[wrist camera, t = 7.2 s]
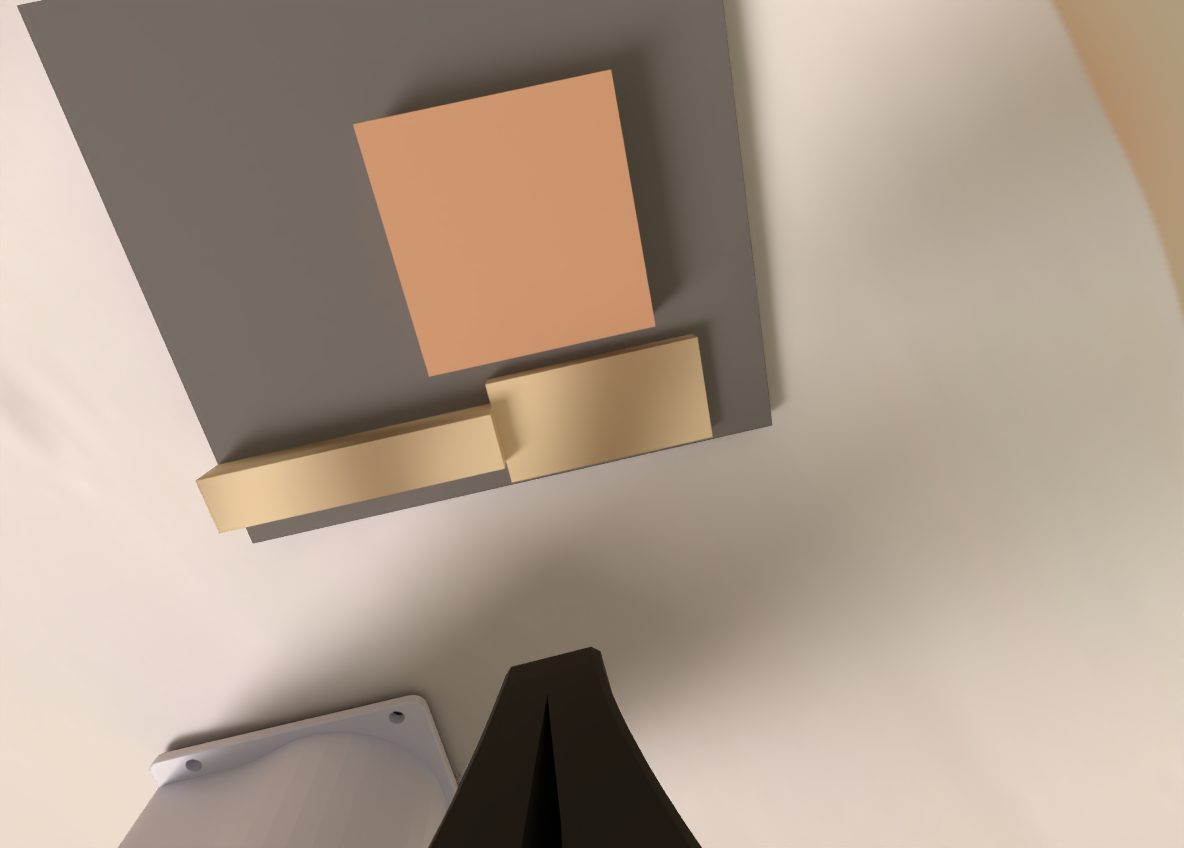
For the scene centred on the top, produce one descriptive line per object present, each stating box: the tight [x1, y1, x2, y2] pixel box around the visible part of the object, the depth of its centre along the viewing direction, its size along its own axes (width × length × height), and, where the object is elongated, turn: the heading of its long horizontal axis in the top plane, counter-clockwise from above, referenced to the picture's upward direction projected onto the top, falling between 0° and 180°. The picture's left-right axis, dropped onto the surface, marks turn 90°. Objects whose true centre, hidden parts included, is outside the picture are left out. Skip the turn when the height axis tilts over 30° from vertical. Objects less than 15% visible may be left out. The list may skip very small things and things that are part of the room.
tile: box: [353, 70, 655, 377], centre depth 15 cm, size 1×6×6 cm
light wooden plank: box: [196, 334, 713, 533], centre depth 17 cm, size 14×3×1 cm, turn 102°
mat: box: [17, 0, 772, 543], centre depth 16 cm, size 16×14×1 cm
